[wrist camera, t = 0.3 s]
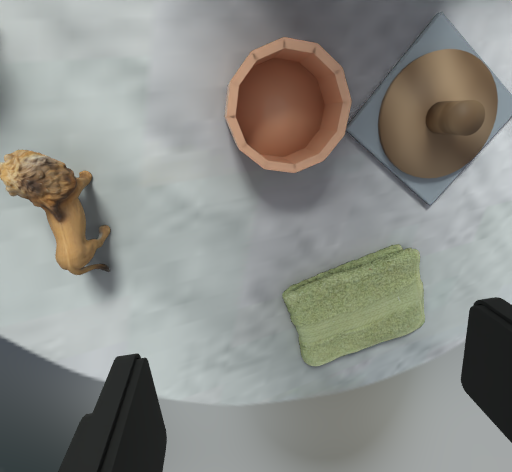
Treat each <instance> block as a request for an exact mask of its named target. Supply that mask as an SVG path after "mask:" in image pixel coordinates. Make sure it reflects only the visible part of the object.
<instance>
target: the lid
mask: <svg viewBox="0 0 512 472" xmlns="http://www.w3.org/2000/svg"><path fill="white" fill-rule="evenodd" d="M497 108H498V95H497V88H496V84H495V81H494V78H493V76H492V74H491V72H490V70H489V69H488V68H487V66H486V65H485V64H484V63H483V62H482V61H481V60H480V59H479V58H477V57H476V56H475V55H473V54H471V53H469V52H466V51H463V50H458V49H443V50H438V51H434V52H431V53H428V54H425V55H423V56H421V57H419V58H417V59H415V60H414V61H412V62H411V63H409V64H408V65H407V66H406V67H404V68H403V69H402V70H401V71H400V72H399V74H398V75H397V76H396V77H395V78H394V80H393V81H392V82H391V84H390V86H389V87H388V89H387V91H386V93H385V95H384V98H383V100H382V103H381V107H380V111H379V117H378V134H379V139H380V143H381V146H382V149H383V151H384V153H385V155H386V156H387V158H388V159H389V161H390V162H391V163H392V164H393V165H394V166H395V167H397V168H398V169H399V170H401V171H403V172H404V173H406V174H409V175H412V176H415V177H420V178H438V177H442V176H446V175H448V174H451V173H453V172H455V171H457V170H459V169H460V168H462V167H464V166H465V165H466V164H467V163H469V162H470V161H471V160H472V159H473V158H474V157H475V156H476V155H477V154H478V153H479V151H480V150H481V149H482V148H483V146H484V145H485V143H486V141H487V140H488V138H489V136H490V134H491V131H492V129H493V126H494V123H495V120H496V115H497Z"/></svg>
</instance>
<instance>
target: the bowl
mask: <svg viewBox="0 0 512 472" xmlns="http://www.w3.org/2000/svg"><path fill="white" fill-rule="evenodd" d="M351 101H352V100H351V96H350V93H349V89H348V86H347V82H346V78H345V75H344V71H343V68H342V66H341V65H340V64H338V63H337V62H336V61H335V60H334V59H333V58H332V57H331V56H330V55H329V54H328V53H327V52H326V51H325V50H324V49H323V48H322V47H321V46H320V45H319V44H318V43H314V42H308V41H303V40H298V39H292V38H287V37H282V38H280V39H278V40H276V41H273V42H271V43H269V44H266V45H264V46H262V47H259V48H257V49H255V50H253V51H251V52H250V54H249V55H248V56H247V58H246V59H245V61H244V62H243V64H242V65H241V66H240V68H239V69H238V71H237V72H236V74H235V75H234V76H233V78H232V79H231V81H230V82H229V84H228V88H227V97H226V107H225V116H224V117H225V119H226V122H227V124H228V127H229V129H230V132H231V134H232V136H233V139H234V141H235V144H236V145H237V147H238V148H239V150H240V151H242V152H243V153H244V154H246V155H247V156H248V157H249V158H251V159H252V160H253V161H255V162H256V163H257V164H258V165H260V166H261V167H262V168H263V169H267V170H275V171H283V172H290V173H296V172H299V171H301V170H303V169H306V168H308V167H310V166H313V165H315V164H317V163H320V162H322V161H323V160H325V159H326V157H327V156H328V155H329V154H330V152H331V151H332V150H333V149H334V148H335V146H336V145H337V144H338V143H339V141H340V140H341V139H342V138H343V136H344V135H345V131H346V126H347V121H348V117H349V112H350V107H351V103H352V102H351Z"/></svg>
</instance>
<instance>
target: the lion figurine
mask: <svg viewBox="0 0 512 472" xmlns="http://www.w3.org/2000/svg"><path fill="white" fill-rule="evenodd" d="M4 161H5V162H1V163H0V178H1V180H3V182H4V184H5V185H6V190H7V191H8V192H9V194H10V195H11V196H16V195H18V196H20V197H22V198H26V199H29V200H30V201H31V202H32V203H33V204H34V206H37V207H41V208H43V209H44V210H45V212H46V215H47V219H48V222H49V224H50V227H51V229H52V231H53V233H54V236H55V239H56V243H57V247H56V260H57V262H58V264H59V265H60V267H61V268H62V269H65V270H68V271H69V272H71V273H72V274H75V275H81V274H84V273H86V272H88V271H91V270H93V269H102V270H105V271H107V272H110V269H109V267H108V266H107V265H105V264H94V265H90V266H86V267H84V266H85V265H86V264H88V263H89V261H90V260H91V259H92V258H93V256H94V254H95V252H96V249H97V248H100V247H101V246H102V245H103V243H104V241H105V239H106V238H107V237H108V235H109V233H110V227H109V226H107V225H102V226H100V228H99V238H98V239H91V240H86V237H85V230H86V218H85V213H84V210H83V207H82V205H81V203H80V201H79V199H78V197H79V195H80V193H81V191H82V190H83V189H84V187H85V186H87V185H88V184H89V183H90V181H91V179H92V175H91V173H89V172H88V171H82V172H80V173H79V175H80V177H79V178H75V176H74V172H73V171H72V170H71V169H69V168H66V165H65V164H64V163H63V162H60V161H57V160H55V159H52V158H50V157H48V156H45V155H43V154H41V153H37V152H33V151H28V150H17V151H15V152H13V153H11V154H6V155H5V156H4Z"/></svg>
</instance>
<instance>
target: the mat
mask: <svg viewBox="0 0 512 472" xmlns="http://www.w3.org/2000/svg"><path fill="white" fill-rule="evenodd" d="M443 49H458V50H463V51H466V52H469V53H471V54H473V55H475V56H476V57H477V58H479V59H480V60H481V61H482V62H483V63H484V61H483V60H482V59H481V58H480V57H479V55H478V54H477V53H476V52H475V51H474V50H473V48H472V47H471V46H470V45H469V44H468V42H467V41H466V40H465V39H464V38H463V36H462V35H461V34H460V33H459V32H458V31H457V29H456V28H455V27H454V26H453V25H452V23H451V22H450V21H449V20H448V19H447V18H446V16H445V15H444V14H443V13H442V12H441V13H439V14H437V15H436V16H435V17H434V18H433V20H432V21H431V22H430V23H429V25H428V26H427V27H426V28H425V30H424V31H423V32H422V33H421V35H420V36H419V37H418V38H417V40H416V41H415V42H414V43H413V45H412V46H411V47H410V48H409V50H408V51H407V52H406V53H405V55H404V56H403V57H402V58H401V60H400V61H399V62H398V63H397V64H396V66H395V67H394V68H393V69H392V71H391V72H390V73H389V74H388V76H387V77H386V78H385V79H384V81H383V82H382V83H381V84H380V86H379V87H378V88H377V89H376V91H375V92H374V93H373V94H372V96H371V97H370V98H369V99H368V101H367V102H366V103H365V104H364V106H363V107H362V108H361V109H360V110H359V112H358V113H357V114H356V115H355V117H354V118H353V119H352V120H351V122H350V123H349V124H348V125H347V127H346V131H347V132H348V133H350V134H351V135H352V136H353V137H354V138H355V139H356V140H357V141H358V142H359V143H361V144H362V145H363V146H364V147H365V148H366V149H367V150H368V151H369V152H371V153H372V154H373V155H374V156H375V157H376V158H377V159H378V160H379V161H380V162H382V163H383V164H384V165H385V166H386V167H387V168H388V169H389V170H390V171H391V172H393V173H394V174H395V175H396V176H397V177H398V178H399V179H400V180H401V181H402V182H404V183H405V184H406V185H407V186H408V187H409V188H410V189H411V190H412V191H414V192H415V193H416V194H417V195H418V196H419V197H420V198H421V199H422V200H423V201H425V202H426V203H427V204H429V205H431V204H432V203H433V202H434V201H435V200H436V198H437V197H438V196H439V195H440V194H441V193H442V192H443V191H444V190H445V189H446V187H447V186H448V185H449V184H450V183H451V182H452V181H453V180H454V179H455V178H456V177H457V175H458V174H459V173H460V172H461V171H462V170H463V169H464V168H465V167H466V166H467V165H468V163H467V164H466V165H465V166H464V167H462V168H460V169H459V170H457V171H455V172H453V173H451V174H448V175H446V176H442V177H438V178H420V177H415V176H412V175H409V174H406V173H404V172H403V171H401V170H399V169H398V168H397V167H395V166H394V165H393V164H392V163H391V162H390V161H389V159H388V158H387V156H386V155H385V153H384V151H383V149H382V146H381V143H380V139H379V134H378V117H379V111H380V107H381V103H382V100H383V98H384V95H385V93H386V91H387V89H388V87H389V86H390V84H391V82H392V81H393V80H394V78H395V77H396V76H397V75H398V74H399V72H400V71H401V70H402V69H403V68H404V67H406V66H407V65H408V64H409V63H411V62H412V61H414V60H415V59H417V58H419V57H421V56H423V55H425V54H428V53H431V52H434V51H438V50H443ZM484 64H485V63H484ZM485 65H486V64H485ZM486 66H487V65H486ZM487 68H488V69H489V70H490V68H489V67H488V66H487ZM490 72H491V74H492V76H493V78H494V81H495V84H496V88H497V95H498V108H497V115H496V120H495V123H494V126H493V129H492V131H491V134H490V136H489V138H488V140H487V141H486V143H485V145H486V144H487V143H488V142H489V140H490V139H491V138H492V137H493V136H494V135H495V134H496V133H497V132H498V131H499V129H500V128H501V127H502V126H503V125H504V124H505V123H506V122H507V121H508V120H509V119H510V117H511V116H512V95H511V93H510V92H509V91H508V90H507V89H506V87H505V86H504V85H503V84H502V83H501V82H500V80H499V79H498V78H497V77H496V76H495V74H494V73H493V72H492V71H491V70H490ZM485 145H484V146H485ZM484 146H483V147H484Z"/></svg>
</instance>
